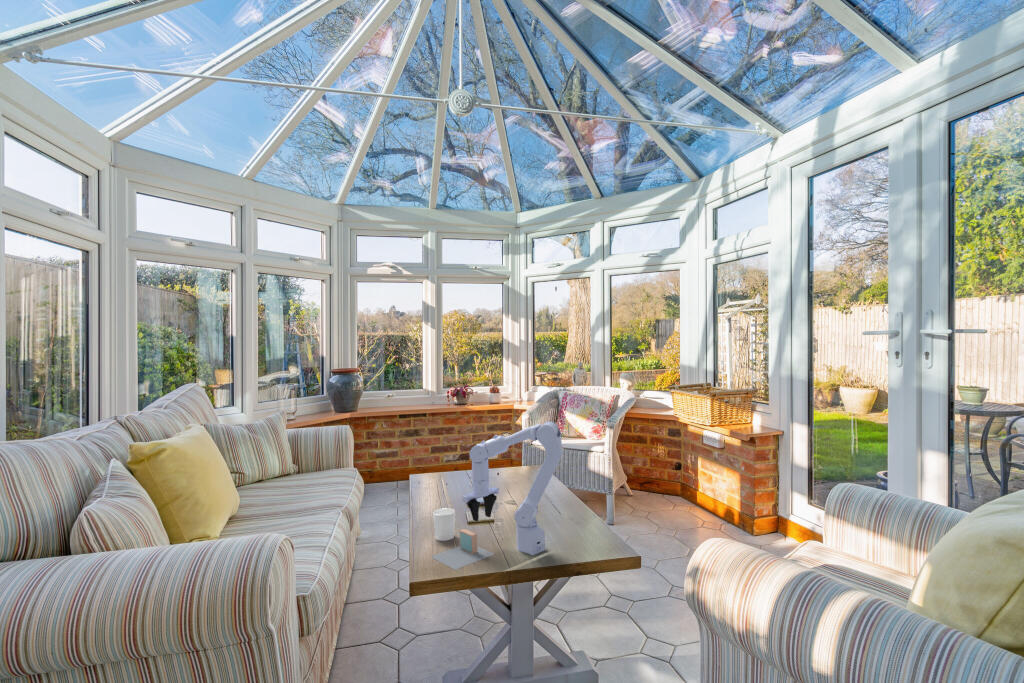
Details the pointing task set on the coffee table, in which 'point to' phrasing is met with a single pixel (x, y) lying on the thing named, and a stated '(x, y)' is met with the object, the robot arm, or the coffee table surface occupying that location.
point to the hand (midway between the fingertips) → (481, 518)
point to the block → (468, 541)
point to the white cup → (444, 523)
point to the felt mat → (461, 557)
